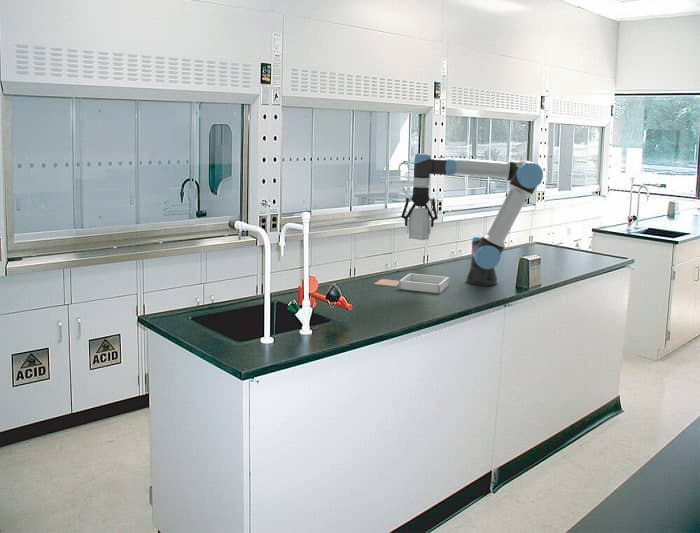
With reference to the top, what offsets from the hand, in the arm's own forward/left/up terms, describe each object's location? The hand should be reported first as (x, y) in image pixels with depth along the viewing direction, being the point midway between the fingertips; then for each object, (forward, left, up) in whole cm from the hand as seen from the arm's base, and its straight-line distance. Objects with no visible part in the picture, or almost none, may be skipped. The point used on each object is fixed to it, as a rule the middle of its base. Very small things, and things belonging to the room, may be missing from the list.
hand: (418, 233), depth 331 cm
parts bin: (-4, 0, -26) cm, 26 cm away
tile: (+14, +1, -26) cm, 30 cm away
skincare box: (0, 0, -3) cm, 3 cm away
